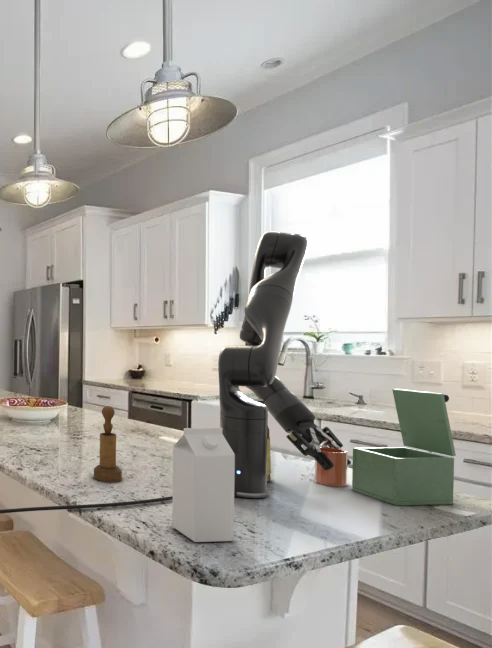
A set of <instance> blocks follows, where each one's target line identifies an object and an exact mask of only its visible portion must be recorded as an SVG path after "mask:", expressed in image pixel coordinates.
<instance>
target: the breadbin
mask: <svg viewBox="0 0 492 648" xmlns="http://www.w3.org/2000/svg"><path fill="white" fill-rule="evenodd" d="M351 472H352V475H351V476H352V477H351V479H352V480H351V483H352V484H351V490H352V491H354V492H357V493H360V494H363V495H365V496H367V497H371V498H373V499H376V500H379V501H382V502H385V503H389V504H391V505H393V506H432V505H435V506H437V505H439V506H440V505H453V504H454V484H455V483H454V482H455V481H454V479H455V457H453V456H449V455H444V454H440V453H435V452H430V451H426V450H421V449H417V448H412V447H408V446H390V447H389V446H386V447H385V446H382V447H381V446H380V447H379V446H378V447H352V471H351Z"/></svg>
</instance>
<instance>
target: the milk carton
mask: <svg viewBox="0 0 492 648" xmlns="http://www.w3.org/2000/svg"><path fill="white" fill-rule="evenodd" d="M234 476H235V454H234V452H233V451H232V449H231V447H230V446H229V444H228V442H227V441H226V439H225V437H224V436H223V434H222V428H220V427H185V428H183V434H182V435H181V436H180V437H179V439H178V440H177V441H176V442H175V444H174V445H173V446H172V496H173V500H172V506H171V507H172V509H171V510H172V511H171V512H172V513H171V515H172V516H171V519H172V520H171V522H172V523H171V527H172V528H173V529H175V530H176V531H178V532H179V533H181V535H183V536H185V537H186V538H188V539H190V540H191V541H193V542H194V543H209V542H234V539H235V537H234V536H235V535H234V534H235V496H234Z"/></svg>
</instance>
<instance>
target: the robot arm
mask: <svg viewBox="0 0 492 648" xmlns="http://www.w3.org/2000/svg"><path fill="white" fill-rule="evenodd" d="M257 243H258V244H257V247H256V250H255V255H254V259H253V264H252V270H251V277H250V283H249V290H248V296H247V298H246V303H245V306H244V309H243V310H244V311H243V312H244V317H243V320H242V324H241V327H240V331H239V339H240V341H242V342H244V345H243V344H241V345H237V344H236V345H235V344H234V345H225V346H222V348H221V349H220V351H219V355H218V362H217V363H218V364H217V365H218V366H217V370H218V390H219V391H218V393H219V395H218V396H219V397H218V398H219V399H218V400H219V428H222V434H223V436H224V437H225V439H226V441H227V442H228V444H229V446H230V447H231V449H232V451H233V452H234V454H235V476H234V497H238V498H244V499H245V498H246V499H262V498H266V497H268V481H267V432H268V428H269V425H268V422H269V420H268V419H269V414H270V416H271V417H272V418H273V419H274V421H276V423H278V425H279V427H281V428H282V429H283V430H284V431H285V432H286V433H287V435H286V439H288V441H289V442H290V443H291V444H292V445H293V446H294V447H295V448H296V449H297V450H298V451H299V452H300V453H301V454H302V455H303V456H305V457H307V456H309V457H310V458H312V459H313V458H314V461H315V460H316V461H317V462H318V463H319V464H320V465H321V466H322V468H323V469H324V470H329V469H331V468H332V467H333V466H334V465H333V463H332V462H331V461H330V460H329V459H328V458H327V457H326V455H325V454H324V453H323V452H321V450H320V448H319V447H327V448H336V449H341V450H342V447H344V444H343V443H342V441H340V440H339V438H338V437H337V435H335V434H334V433H333V431H332V430H331V429H330V427H328V426H324V427H323V428H321V427H320V426H318V425H317V424H316V423H315V419H316V416H315V414H314V413H313V412H312V411H311V410H310V409H309V407H307V406H306V404H305V403H303V401H302V400H301V398H299V397H298V396H297V395H296V394H295V393H294V392H292V391H291V390H290V389H289V388H288V387H287V386H286V384H284V382H282V381H281V379H279V377H277V376H276V375H277V371H278V367H279V360H280V352H281V345H282V341H283V340H282V339H283V335H284V332H285V328H286V325H287V321H288V318H289V316H290V312H291V309H292V305H293V300H294V295H295V290H296V287H297V286H296V285H297V282H298V278H299V276H300V273H301V270H302V267H303V264H304V261H305V259H306V256H307V253H308V248H309V241H308V238H307V236H305V235H303V234H299V233H292V232H279V231H269V230H268V231H264V233H262V235H261V236H260V239H259V241H258V242H257ZM267 268H272V269H279V270H277V271H276V272H273V273H272V274H269V275H268V276H266V270H267ZM240 387H245V388H247V389H249V391H251V392H252V393H253V394H254V396H256V399H262V400H264V404H262V403H260V402H257V401H255V400H252V399H253V398H250V397H248V396H246V395H245V394H244V393H242V392H241V390H240ZM320 452H321V453H320ZM351 464H352V461H351V460H350V458H348V457H347V467H349V466H350V465H351ZM165 501H173V495H170V496H164V497H155V498H150V499H149V498H148V499H140V500H131V501H119V502H106V503H90V504H89V503H88V504H68V505H50V506H31V507H17V508H6V509H5V508H4V509H0V514H10V513H11V514H12V513H25V512H39V511H57V510H58V511H59V510H78V509H96V508H97V509H98V508H112V507H123V506H132V505H133V506H134V505H143V504H150V503H158V502H165Z"/></svg>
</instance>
